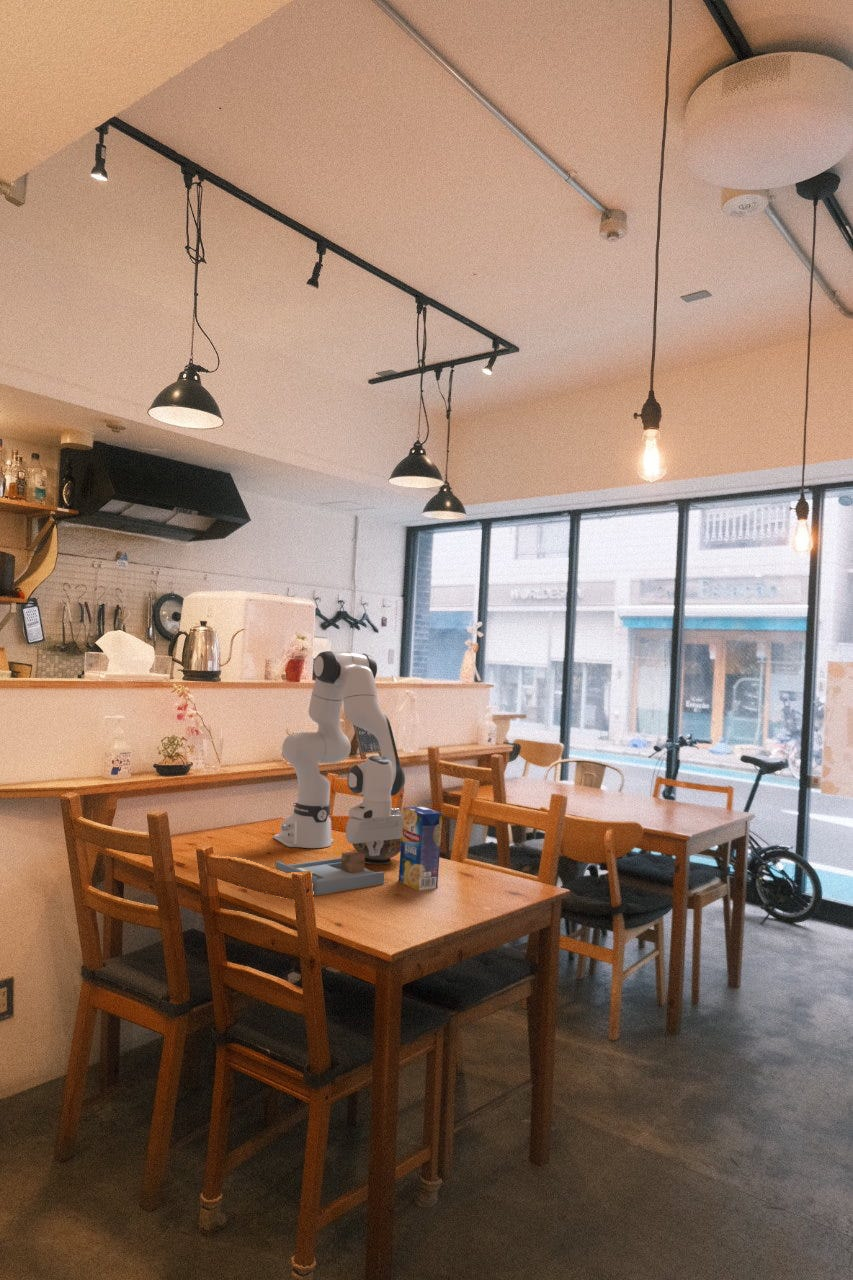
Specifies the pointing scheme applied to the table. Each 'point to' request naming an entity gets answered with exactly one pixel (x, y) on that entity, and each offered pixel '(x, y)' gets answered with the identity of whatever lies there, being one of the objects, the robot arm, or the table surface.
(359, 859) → the block
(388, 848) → the ceramic bowl
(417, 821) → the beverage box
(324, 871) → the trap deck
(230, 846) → the table surface
